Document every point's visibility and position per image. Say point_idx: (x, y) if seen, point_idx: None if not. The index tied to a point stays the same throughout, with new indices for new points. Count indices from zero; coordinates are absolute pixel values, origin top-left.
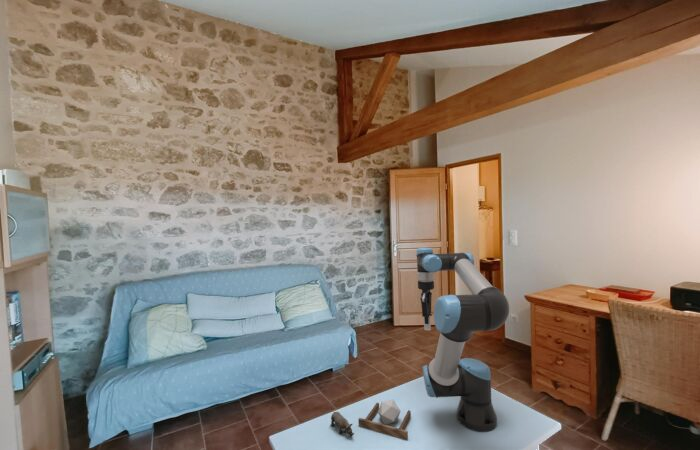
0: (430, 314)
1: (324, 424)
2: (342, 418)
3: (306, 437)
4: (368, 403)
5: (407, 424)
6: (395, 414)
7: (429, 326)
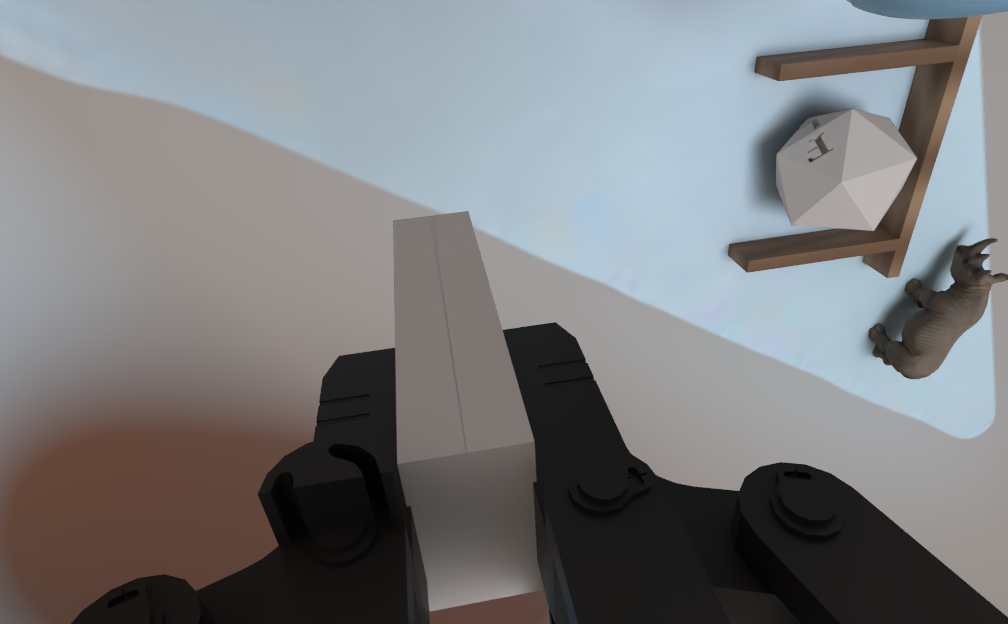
0: (345, 522)
1: (878, 374)
2: (975, 323)
3: (957, 378)
4: (690, 314)
5: (823, 50)
6: (883, 122)
7: (479, 267)
